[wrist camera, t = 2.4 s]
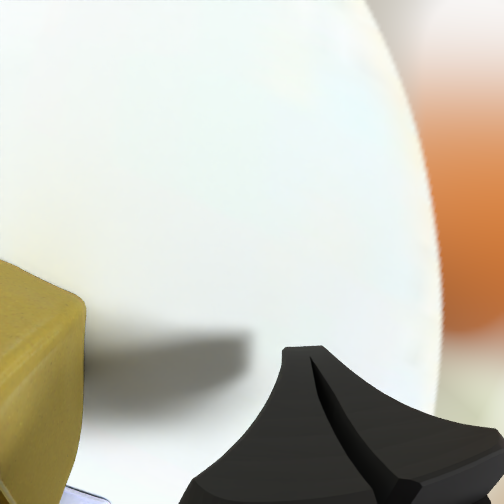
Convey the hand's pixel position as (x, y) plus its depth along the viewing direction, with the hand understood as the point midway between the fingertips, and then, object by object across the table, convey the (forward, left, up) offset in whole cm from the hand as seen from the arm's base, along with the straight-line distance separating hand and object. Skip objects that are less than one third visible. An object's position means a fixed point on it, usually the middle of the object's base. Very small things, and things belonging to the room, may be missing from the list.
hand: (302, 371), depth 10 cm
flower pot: (0, +12, -3) cm, 12 cm away
